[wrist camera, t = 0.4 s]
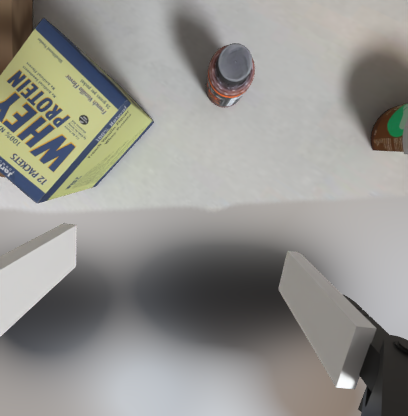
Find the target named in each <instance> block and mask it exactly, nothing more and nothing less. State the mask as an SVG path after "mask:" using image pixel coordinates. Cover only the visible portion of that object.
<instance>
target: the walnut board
mask: <svg viewBox="0 0 408 416" xmlns="http://www.w3.org/2000/svg"><path fill="white" fill-rule="evenodd" d="M32 28H33V0H0V75H1V74H2V73H3V71H4V70H5V69H6V67H7V66H8V64H9V63H10V62H11V61H12V59H13V58H14V57H15V55H16V54H17V53H18V51H19V50H20V48H21V47H22V46H23V44H24V43H25V42H26V40H27V39H28V37H29V36H30V35H31V33H32ZM0 176H1V177H5V176H4V175H3V174H2V173H0Z"/></svg>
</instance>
